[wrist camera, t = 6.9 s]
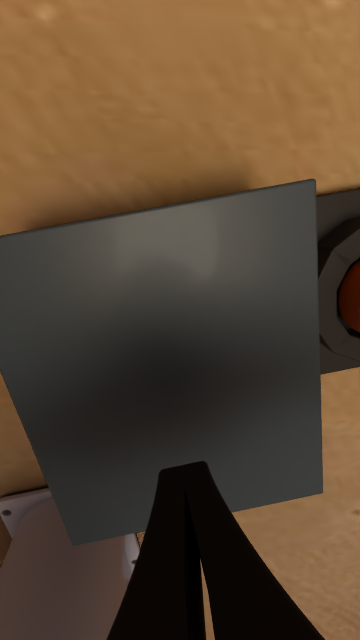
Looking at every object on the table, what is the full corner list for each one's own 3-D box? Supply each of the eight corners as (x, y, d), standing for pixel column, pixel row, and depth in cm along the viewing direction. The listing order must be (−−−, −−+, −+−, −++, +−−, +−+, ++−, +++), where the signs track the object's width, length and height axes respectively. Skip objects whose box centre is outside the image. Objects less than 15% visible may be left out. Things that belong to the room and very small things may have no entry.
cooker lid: (315, 479, 15) (324, 493, 14) (76, 530, 15) (72, 547, 14) (305, 180, 11) (316, 177, 10) (-39, 242, 10) (-54, 245, 10)
